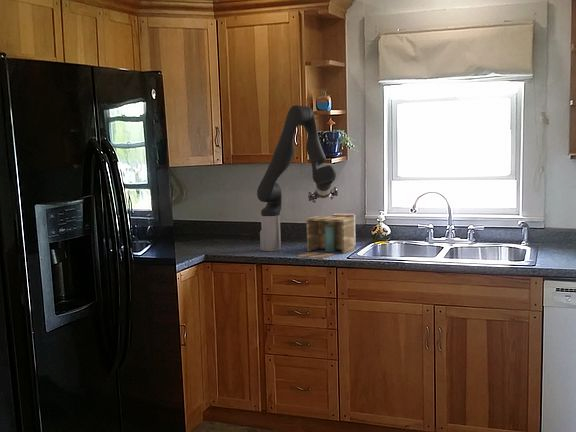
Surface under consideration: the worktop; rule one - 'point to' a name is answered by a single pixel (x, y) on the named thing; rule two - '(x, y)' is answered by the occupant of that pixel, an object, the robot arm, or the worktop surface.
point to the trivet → (315, 255)
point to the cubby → (342, 232)
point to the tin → (329, 238)
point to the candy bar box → (347, 216)
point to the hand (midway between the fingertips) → (322, 199)
